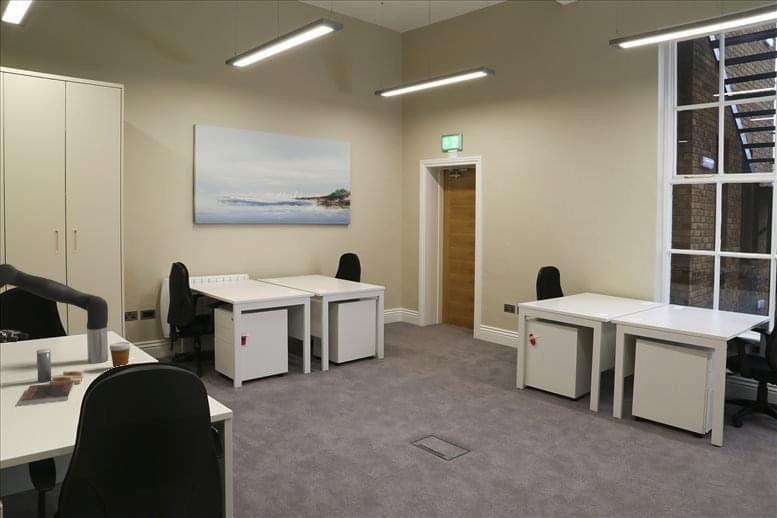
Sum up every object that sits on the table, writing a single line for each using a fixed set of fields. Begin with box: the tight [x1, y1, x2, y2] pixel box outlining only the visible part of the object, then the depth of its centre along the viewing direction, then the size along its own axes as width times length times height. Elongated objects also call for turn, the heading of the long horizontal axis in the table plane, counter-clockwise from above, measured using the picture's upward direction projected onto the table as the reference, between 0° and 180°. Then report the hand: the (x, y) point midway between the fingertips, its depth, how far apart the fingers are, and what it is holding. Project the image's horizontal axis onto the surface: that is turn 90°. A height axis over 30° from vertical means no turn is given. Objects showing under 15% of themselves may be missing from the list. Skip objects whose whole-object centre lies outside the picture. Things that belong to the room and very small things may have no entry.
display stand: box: [50, 370, 84, 386], centre depth 248 cm, size 12×11×4 cm
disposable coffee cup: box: [108, 341, 132, 367], centre depth 271 cm, size 10×10×12 cm
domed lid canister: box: [36, 348, 52, 384], centre depth 249 cm, size 5×5×14 cm
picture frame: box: [19, 381, 75, 406], centre depth 231 cm, size 16×2×22 cm
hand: (22, 338), depth 246 cm, fingers open, 8 cm apart
